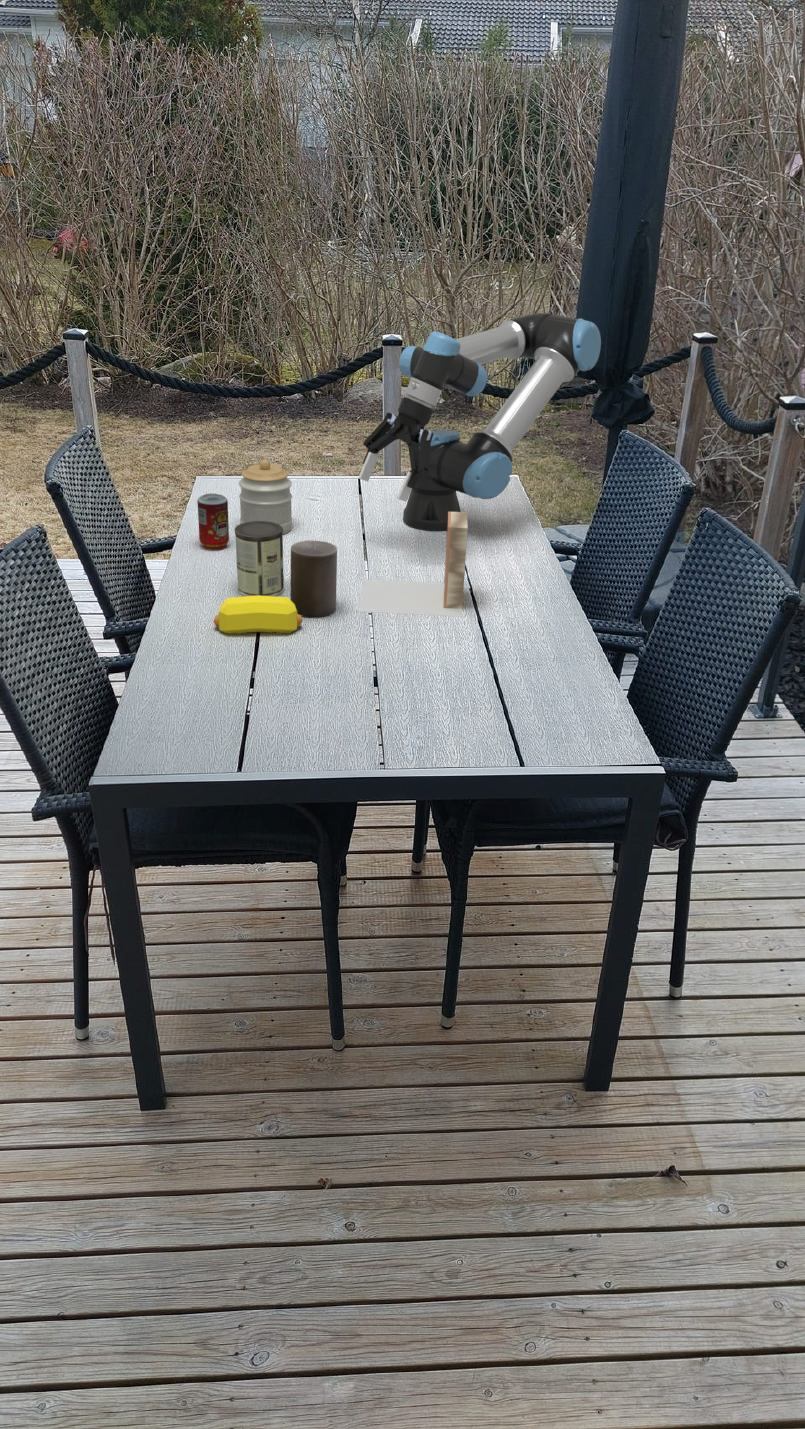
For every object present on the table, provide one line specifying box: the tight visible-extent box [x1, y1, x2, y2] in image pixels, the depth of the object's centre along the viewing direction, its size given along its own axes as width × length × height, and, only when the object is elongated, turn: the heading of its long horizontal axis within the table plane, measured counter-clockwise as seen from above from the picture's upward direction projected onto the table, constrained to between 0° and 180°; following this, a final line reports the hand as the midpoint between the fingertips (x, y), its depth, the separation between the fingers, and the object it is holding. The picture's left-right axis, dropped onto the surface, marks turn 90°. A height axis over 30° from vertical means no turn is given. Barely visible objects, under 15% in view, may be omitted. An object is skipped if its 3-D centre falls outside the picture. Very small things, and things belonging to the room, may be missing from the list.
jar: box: [238, 458, 293, 535], centre depth 274 cm, size 13×13×18 cm
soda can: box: [196, 493, 230, 551], centre depth 263 cm, size 7×7×12 cm
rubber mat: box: [357, 579, 463, 618], centre depth 241 cm, size 22×18×1 cm
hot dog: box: [213, 595, 303, 635], centre depth 224 cm, size 18×7×8 cm
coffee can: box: [234, 521, 285, 597], centre depth 240 cm, size 10×10×14 cm
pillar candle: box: [289, 539, 338, 619], centre depth 232 cm, size 10×10×15 cm
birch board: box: [443, 511, 469, 610], centre depth 236 cm, size 4×10×18 cm, turn 178°
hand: (381, 490), depth 256 cm, fingers open, 13 cm apart
